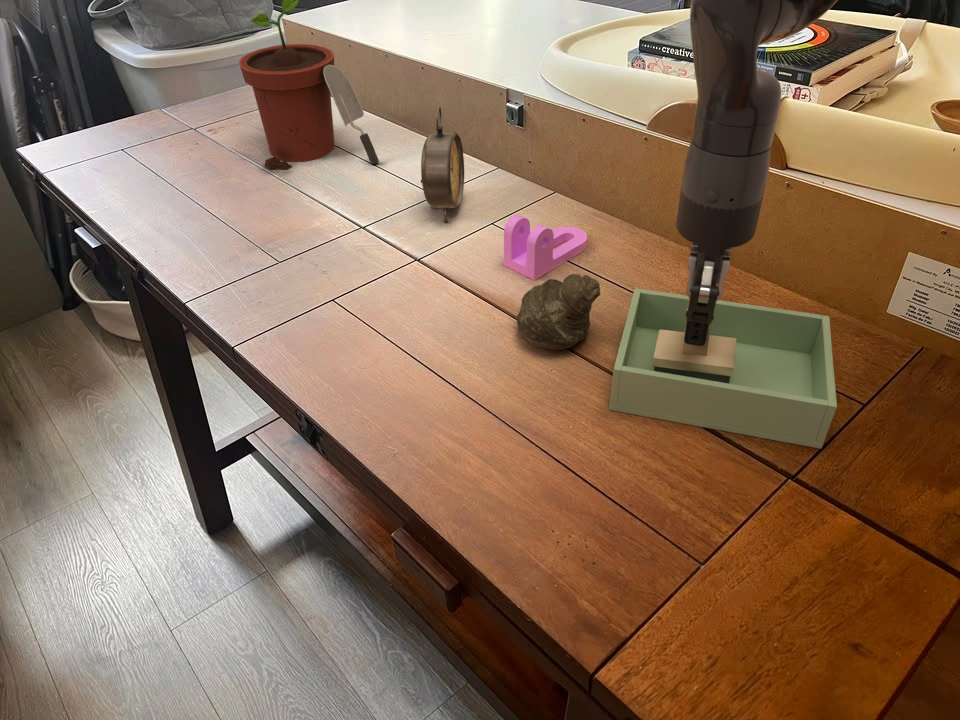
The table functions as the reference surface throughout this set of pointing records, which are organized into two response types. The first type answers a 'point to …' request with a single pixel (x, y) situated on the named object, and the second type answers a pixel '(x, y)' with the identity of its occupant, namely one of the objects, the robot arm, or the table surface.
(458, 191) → the alarm clock
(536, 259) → the bracket
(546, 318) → the seashell
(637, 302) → the bin
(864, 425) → the table surface
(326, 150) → the potted plant
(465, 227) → the table surface
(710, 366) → the base with upright post
